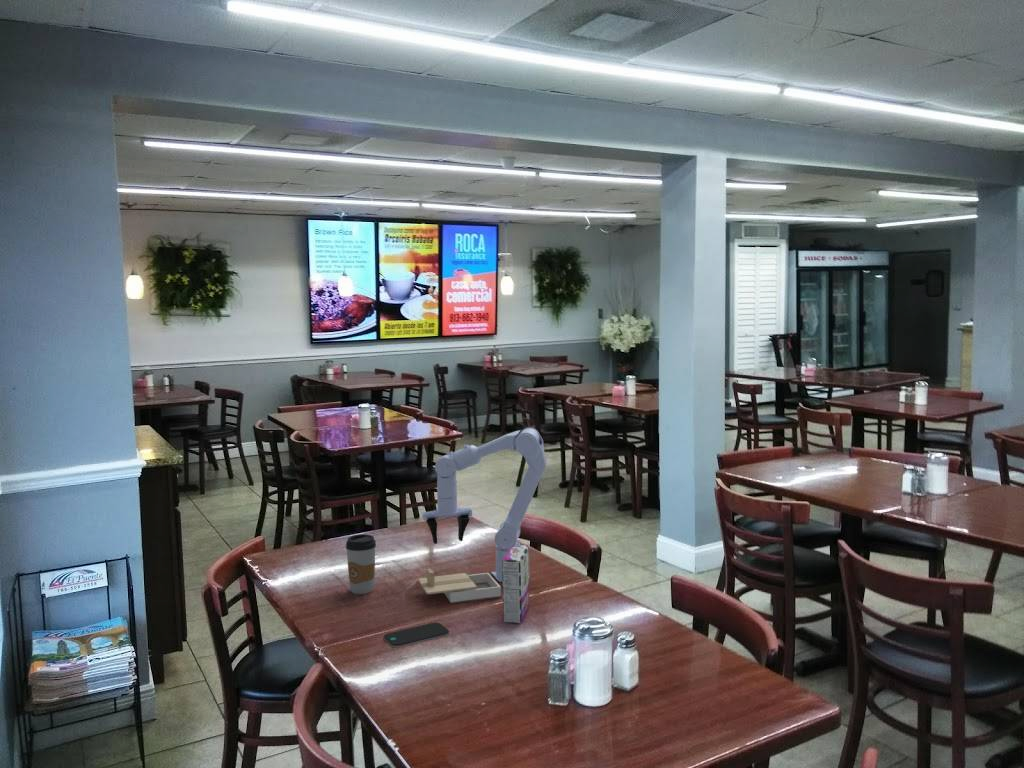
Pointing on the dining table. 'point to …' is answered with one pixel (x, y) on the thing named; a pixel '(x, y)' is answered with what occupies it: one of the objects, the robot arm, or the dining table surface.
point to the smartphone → (416, 634)
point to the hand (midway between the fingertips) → (447, 541)
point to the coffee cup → (361, 563)
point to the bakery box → (476, 590)
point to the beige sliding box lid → (446, 583)
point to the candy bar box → (515, 584)
